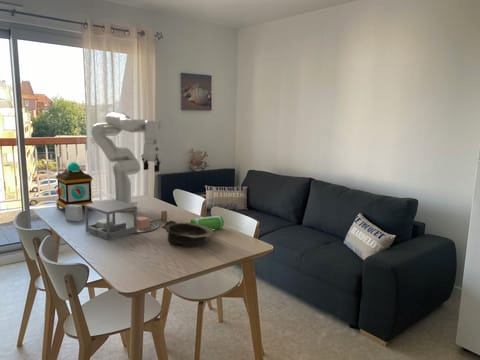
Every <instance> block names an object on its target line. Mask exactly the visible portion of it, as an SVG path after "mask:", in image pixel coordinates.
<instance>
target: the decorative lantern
mask: <svg viewBox="0 0 480 360" xmlns="http://www.w3.org/2000/svg"><path fill="white" fill-rule="evenodd" d="M55 179H56V180H57V189H56V191H57V192H56V193H57V196H58V198H57V201H56V203H55V204H56V205H55V206H56V208H57V209H59V208H62V209H63V210H65V206H67V205H82V208H85V205H87V204H92V203H94V202H93V200H92V180H93V177H92V175H89V174H88V173H86V172H84V171H82V169H81V168H80V165H79V164H78V162H74V161H73V162H72V161H71V162H70V163H69V164H68V165H67V168H66V169H65V170H64V171H63V172H60V173H58V174H56V175H55Z"/></svg>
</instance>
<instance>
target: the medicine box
mask: <svg viewBox="0 0 480 360" xmlns="http://www.w3.org/2000/svg"><path fill="white" fill-rule="evenodd" d="M64 213H65V221H66V222H78V223H79V222H81V221H82V220H83V207H82V205H67V206H65V209H64Z"/></svg>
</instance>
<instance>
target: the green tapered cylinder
mask: <svg viewBox="0 0 480 360" xmlns="http://www.w3.org/2000/svg"><path fill="white" fill-rule="evenodd" d="M189 223H195V224H199V225H203V226H206V227H208V228H211V229H216V230H219V228H220V229H222V228H223V227H224V218H223V217H222V216H220V215H213V216H211V215H210V216H203V217H202V216H201V217H195V218H192V219H190V221H189ZM217 228H218V229H217Z"/></svg>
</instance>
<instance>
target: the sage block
mask: <svg viewBox="0 0 480 360" xmlns="http://www.w3.org/2000/svg"><path fill="white" fill-rule="evenodd" d="M95 223H96V226H97V229H99V228H103V227H107V218H104V219H99V220H96V222H95ZM111 225H113V221H112V219H110V226H111Z"/></svg>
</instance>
